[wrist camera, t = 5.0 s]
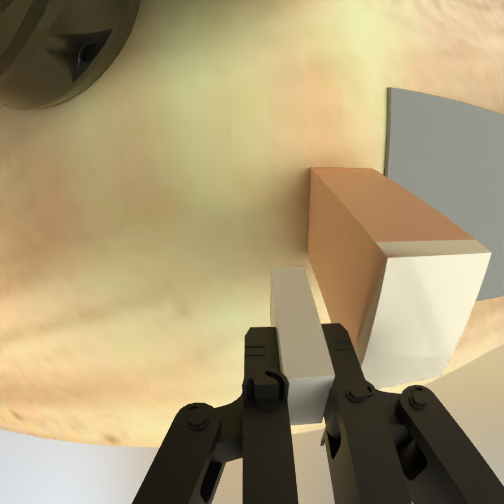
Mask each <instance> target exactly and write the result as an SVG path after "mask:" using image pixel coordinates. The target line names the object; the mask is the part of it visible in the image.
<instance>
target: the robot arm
mask: <svg viewBox="0 0 504 504" xmlns="http://www.w3.org/2000/svg"><path fill="white" fill-rule="evenodd" d="M138 5H139V0H0V104H3V105H6V106H8V107H11V108H15V109H37V108H44V107H50V106H54V105H58V104H61V103H63V102H65V101H68V100H69V99H71V98H73V97H75V96H77V95H78V94H80V93H81V92H83V91H84V90H85V89H87V88H88V87H89V86H90V85H91V84H93V83H94V82H95V81H96V80H97V79H98V78H99V77H100V76H101V75H102V74H103V73H104V72H105V71H106V69H107V68H108V67H109V66H110V65H111V63H112V62H113V61H114V59H115V58H116V56H117V55H118V54H119V52H120V50H121V49H122V47H123V45H124V44H125V42H126V40H127V38H128V36H129V34H130V32H131V29H132V27H133V24H134V21H135V18H136V15H137V10H138ZM270 319H271V327H250V329H249V330H248V332H247V334H246V335H245V357H244V380H243V384H242V390H243V392H242V394H241V396H240V397H239V398H238V399H237V400H236V401H234V402H232V403H230V404H228V405H225V406H221V407H217V408H213V407H212V406H210V405H208V404H205V403H192V404H188V405H186V406H184V407H183V408H181V409H180V410H179V412H178V413H177V414H176V416H175V418H174V420H173V422H172V424H171V426H170V428H169V430H168V432H167V434H166V436H165V438H164V440H163V442H162V444H161V446H160V448H159V450H158V452H157V454H156V456H155V458H154V461H153V462H152V465H151V466H150V469H149V470H148V473H147V474H146V477H145V479H144V481H143V482H142V485H141V487H140V488H139V490H138V493H137V494H136V497H135V498H134V501H133V502H132V504H211V503H212V500H213V498H214V495H215V492H216V489H217V487H218V484H219V481H220V478H221V475H222V472H223V469H224V466H225V464H226V462H228V461H232V460H235V459H239V458H243V504H298V495H297V485H296V474H295V464H294V456H293V446H292V436H291V427H290V425H303V424H314V423H322V420H323V417H324V419H325V424H326V427H325V430H324V433H323V436H322V439H321V446H323V445H324V443H325V445H326V451H327V457H328V463H329V469H330V475H331V481H332V487H333V493H334V500H335V504H412V502H413V504H504V486H503V485H502V484H501V482H500V481H499V479H498V478H497V476H496V475H495V474H494V472H493V471H492V469H491V468H490V467H489V465H488V464H487V463H486V461H485V460H484V458H483V457H482V456H481V454H480V453H479V452H478V450H477V449H476V447H475V446H474V445H473V443H472V442H471V441H470V439H469V438H468V437H467V436H466V434H465V433H464V432H463V430H462V429H461V428H460V426H459V425H458V424H457V423H456V421H455V420H454V419H453V417H452V416H451V415H450V413H449V412H448V411H447V410H446V409H445V407H444V406H443V405H442V403H441V402H440V401H439V400H438V398H437V397H436V396H435V394H434V393H433V392H432V391H431V390H429V389H428V388H426V387H424V386H420V385H413V386H409V387H407V388H406V389H404V390H403V392H402V394H397V393H388V392H383V391H379V390H377V389H375V387H374V386H373V385H372V384H371V383H370V382H368V381H366V379H365V377H364V374H363V372H362V369H361V366H360V363H359V360H358V358H357V355H356V352H355V350H354V347H353V344H352V342H351V339H350V336H349V333H348V331H347V330H346V329H345V328H344V327H343V326H342V325H341V324H340V323H331V324H321V323H320V319H319V316H318V313H317V309H316V306H315V302H314V299H313V296H312V292H311V289H310V286H309V283H308V279H307V276H306V273H305V270H304V266H288V267H271V294H270ZM411 501H412V502H411Z"/></svg>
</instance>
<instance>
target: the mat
mask: <svg viewBox="0 0 504 504" xmlns="http://www.w3.org/2000/svg"><path fill="white" fill-rule="evenodd" d="M384 176H386V177H387V178H389V179H390V180H392V181H394V182H395V183H397V184H398V185H400V186H401V187H403V188H405V189H406V190H408V191H409V192H411V193H412V194H414V195H415V196H417V197H418V198H420V199H421V200H423V201H424V202H425V203H427V204H428V205H430V206H431V207H433V208H434V209H436V210H437V211H438V212H440V213H441V214H443V215H444V216H445V217H447V218H448V219H449V220H451V221H452V222H453V223H455V224H456V225H457V226H459V227H460V228H461V229H463V230H464V231H465V232H467V233H468V234H469V235H470V236H472V237H473V238H474V239H476V240H477V241H478V242H479V243H480V244H482V245H483V246H484V247H485V248H487V249H488V250H489V251H490V252H491V256H490V260H489V263H488V266H487V269H486V273H485V276H484V279H483V282H482V284H481V287H480V290H479V293H478V296H477V298H476V301H479V300H485V299H491V298H496V297H502V296H504V115H502V114H500V113H497V112H493V111H490V110H487V109H484V108H481V107H477V106H474V105H470V104H467V103H463V102H459V101H455V100H451V99H447V98H443V97H438V96H434V95H429V94H424V93H419V92H414V91H409V90H403V89H397V88H388V120H387V144H386V160H385V173H384Z"/></svg>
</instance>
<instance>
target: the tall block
mask: <svg viewBox="0 0 504 504" xmlns="http://www.w3.org/2000/svg"><path fill="white" fill-rule="evenodd" d="M307 254H308V256H309V259H310V262H311V265H312V267H313V270H314V273H315V276H316V279H317V282H318V284H319V287H320V290H321V293H322V296H323V299H324V302H325V305H326V308H327V311H328V314H329V317H330V320H331V323H340V324H341V325H342V326H343V327H344V328H345V329H346V330H347V331H348V333H349V336H350V339H351V342H352V344H353V347H354V350H355V352H356V355H357V358H358V360H359V363H360V366H361V369H362V372H363V374H364V377H365V379H366V381H368V382H370V383H371V384H372V385H373V386H374V387H375V389H379V388H385V387H390V386H395V385H401V384H406V383H410V382H415V381H420V380H424V379H428V378H433V377H437V376H441V375H442V374H443V372H444V370H445V368H446V366H447V364H448V362H449V360H450V358H451V356H452V354H453V352H454V350H455V348H456V346H457V344H458V341H459V339H460V337H461V335H462V333H463V330H464V328H465V326H466V323H467V321H468V319H469V316H470V314H471V311H472V309H473V306H474V304H475V301H476V298H477V296H478V293H479V290H480V287H481V284H482V282H483V279H484V276H485V273H486V269H487V266H488V263H489V260H490V256H491V252H490V251H489V250H488V249H487V248H485V247H484V246H483V245H482V244H480V243H479V242H478V241H477V240H476V239H474V238H473V237H472V236H470V235H469V234H468V233H467V232H465V231H464V230H463V229H461V228H460V227H459V226H457V225H456V224H455V223H453V222H452V221H451V220H449V219H448V218H447V217H445V216H444V215H443V214H441V213H440V212H438V211H437V210H436V209H434V208H433V207H431V206H430V205H428V204H427V203H425V202H424V201H423V200H421V199H420V198H418V197H417V196H415V195H414V194H412V193H411V192H409V191H408V190H406V189H405V188H403V187H401V186H400V185H398V184H397V183H395V182H394V181H392V180H390V179H389V178H387V177H386V176H384V175H382V174H381V173H379V172H377V171H376V170H374V169H362V168H325V167H310V199H309V226H308V247H307Z"/></svg>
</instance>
